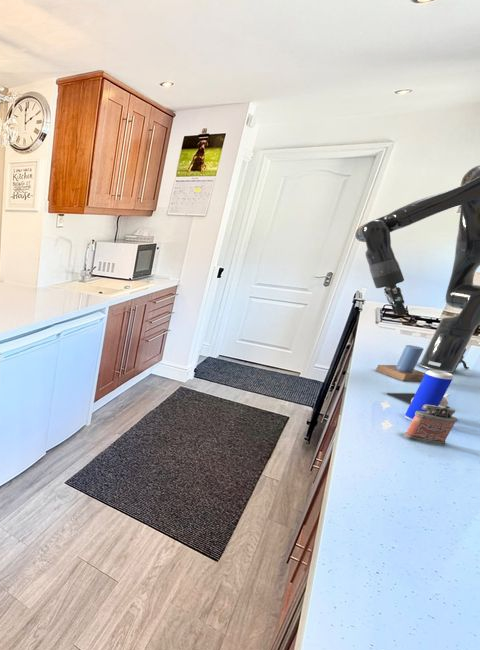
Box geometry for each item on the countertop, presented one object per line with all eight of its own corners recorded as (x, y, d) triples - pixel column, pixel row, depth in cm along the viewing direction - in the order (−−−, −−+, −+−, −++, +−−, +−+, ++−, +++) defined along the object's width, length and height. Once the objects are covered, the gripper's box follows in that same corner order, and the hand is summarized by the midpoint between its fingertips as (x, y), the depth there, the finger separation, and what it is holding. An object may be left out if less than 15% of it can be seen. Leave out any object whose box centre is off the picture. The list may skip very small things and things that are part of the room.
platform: (399, 371, 156) (402, 365, 155) (428, 381, 147) (431, 375, 146) (375, 370, 155) (378, 364, 154) (402, 381, 146) (405, 374, 145)
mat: (414, 394, 135) (414, 393, 135) (449, 408, 126) (449, 407, 125) (386, 394, 134) (387, 393, 134) (419, 408, 125) (420, 406, 125)
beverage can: (417, 416, 119) (441, 369, 114) (434, 424, 115) (460, 376, 109) (399, 414, 120) (422, 368, 114) (415, 423, 115) (439, 375, 110)
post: (403, 367, 152) (413, 345, 149) (416, 372, 148) (427, 349, 145) (391, 367, 152) (402, 345, 149) (404, 372, 148) (415, 349, 144)
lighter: (438, 439, 107) (456, 406, 103) (447, 446, 104) (467, 412, 100) (400, 433, 109) (417, 400, 105) (408, 439, 106) (425, 406, 102)
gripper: (403, 268, 141) (419, 312, 140) (397, 268, 151) (411, 309, 151) (374, 277, 146) (389, 319, 145) (369, 276, 156) (383, 315, 156)
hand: (400, 314), depth 148 cm, fingers open, 8 cm apart
